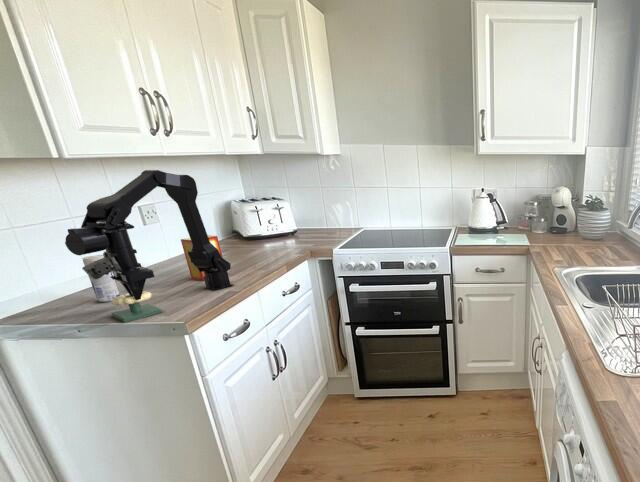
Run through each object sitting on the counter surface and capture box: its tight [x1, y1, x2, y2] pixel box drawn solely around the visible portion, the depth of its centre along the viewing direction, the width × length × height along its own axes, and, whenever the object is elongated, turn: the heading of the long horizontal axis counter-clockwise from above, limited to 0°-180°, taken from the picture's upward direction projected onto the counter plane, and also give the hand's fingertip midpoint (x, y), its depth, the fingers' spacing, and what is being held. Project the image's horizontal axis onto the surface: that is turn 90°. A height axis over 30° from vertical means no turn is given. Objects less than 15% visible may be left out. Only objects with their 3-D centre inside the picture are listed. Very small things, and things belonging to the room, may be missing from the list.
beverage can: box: [81, 254, 121, 303], centre depth 136 cm, size 6×6×15 cm
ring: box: [110, 290, 153, 306], centre depth 124 cm, size 9×9×2 cm
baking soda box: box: [180, 234, 224, 282], centre depth 161 cm, size 10×6×16 cm
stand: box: [111, 295, 162, 323], centre depth 125 cm, size 9×9×6 cm
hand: (136, 299), depth 122 cm, fingers closed on ring, 2 cm apart
